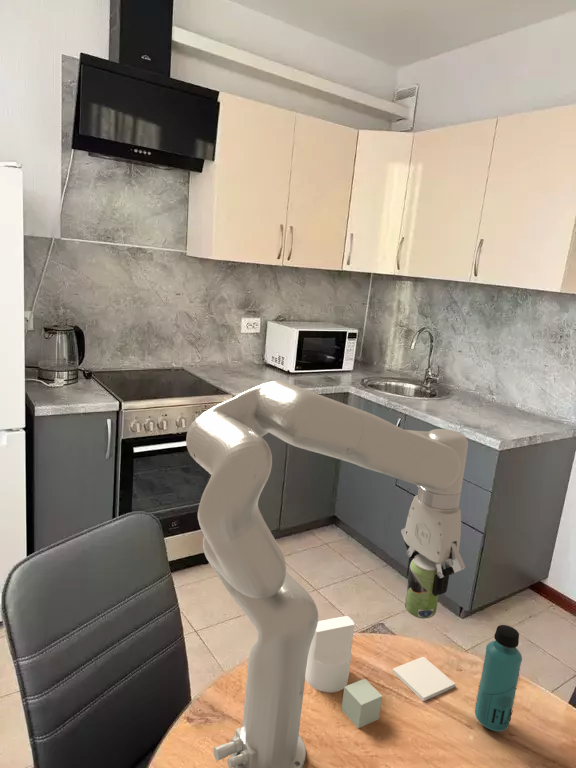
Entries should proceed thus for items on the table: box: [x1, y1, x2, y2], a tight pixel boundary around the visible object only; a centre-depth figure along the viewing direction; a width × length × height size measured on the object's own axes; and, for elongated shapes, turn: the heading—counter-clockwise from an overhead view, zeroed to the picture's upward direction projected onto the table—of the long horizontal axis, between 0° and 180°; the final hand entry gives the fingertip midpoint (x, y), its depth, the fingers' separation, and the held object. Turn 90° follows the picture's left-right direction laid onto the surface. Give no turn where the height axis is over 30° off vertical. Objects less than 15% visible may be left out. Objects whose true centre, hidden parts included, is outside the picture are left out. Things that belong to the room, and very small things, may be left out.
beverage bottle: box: [474, 624, 523, 732], centre depth 103 cm, size 6×7×20 cm
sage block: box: [341, 678, 383, 729], centre depth 104 cm, size 5×5×5 cm
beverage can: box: [404, 554, 440, 620], centre depth 107 cm, size 6×7×12 cm
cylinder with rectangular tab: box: [305, 615, 355, 693], centre depth 112 cm, size 9×9×12 cm
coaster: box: [392, 656, 456, 702], centre depth 115 cm, size 9×9×1 cm
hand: (426, 583), depth 106 cm, fingers closed on beverage can, 6 cm apart
